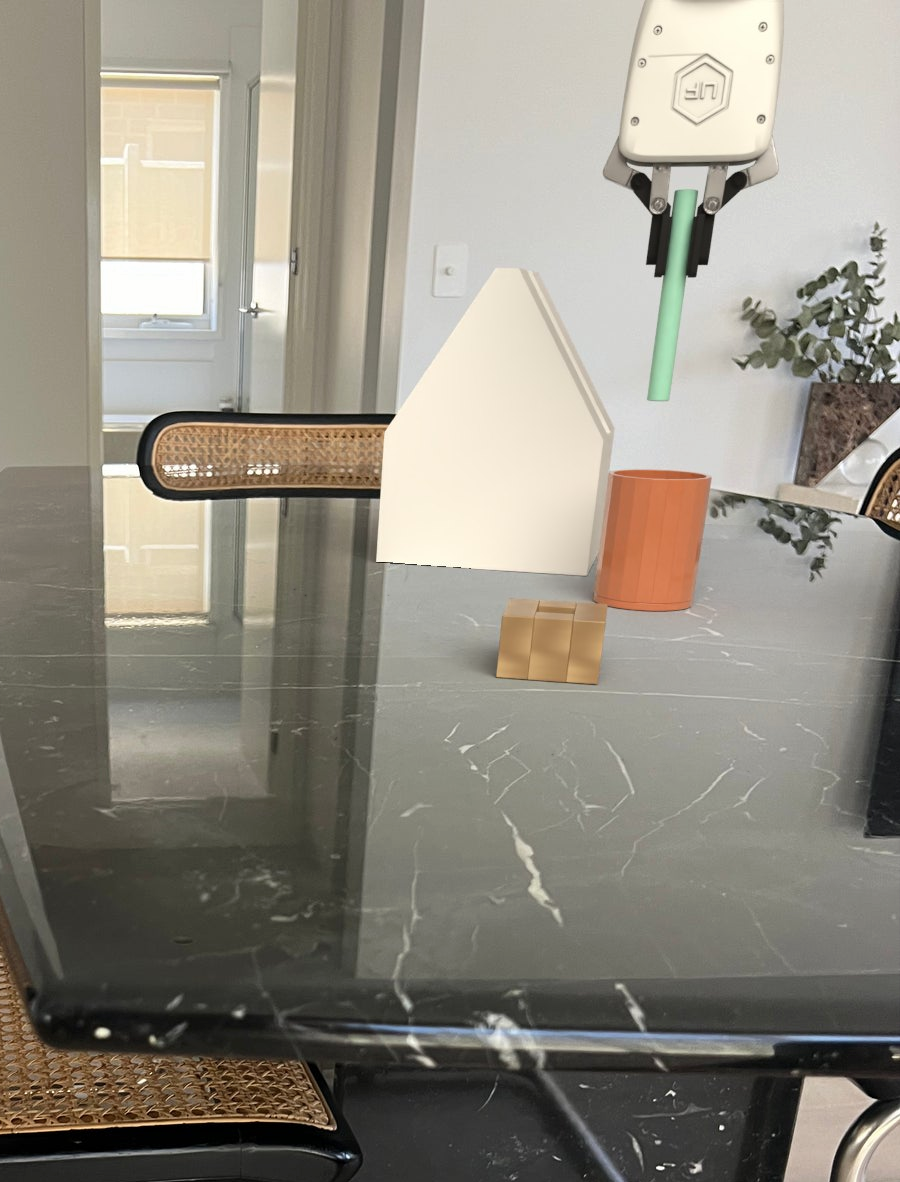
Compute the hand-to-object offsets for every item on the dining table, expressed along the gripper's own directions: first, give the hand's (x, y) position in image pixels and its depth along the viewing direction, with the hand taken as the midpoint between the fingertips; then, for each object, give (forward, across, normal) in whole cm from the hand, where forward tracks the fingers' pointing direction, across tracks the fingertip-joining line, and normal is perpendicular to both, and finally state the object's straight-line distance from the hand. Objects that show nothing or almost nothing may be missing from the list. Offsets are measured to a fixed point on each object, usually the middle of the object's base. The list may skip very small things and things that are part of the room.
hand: (675, 275), depth 106 cm
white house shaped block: (+24, -13, +25) cm, 37 cm away
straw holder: (+24, -5, -23) cm, 34 cm away
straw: (+9, 0, 0) cm, 9 cm away
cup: (+24, +1, +5) cm, 25 cm away
